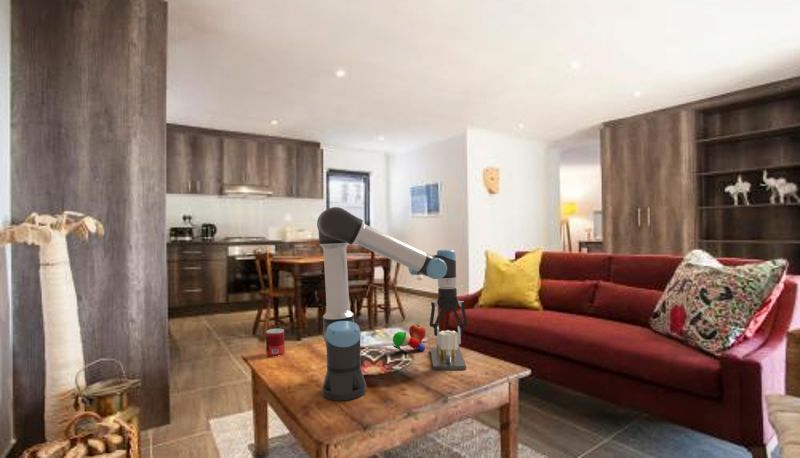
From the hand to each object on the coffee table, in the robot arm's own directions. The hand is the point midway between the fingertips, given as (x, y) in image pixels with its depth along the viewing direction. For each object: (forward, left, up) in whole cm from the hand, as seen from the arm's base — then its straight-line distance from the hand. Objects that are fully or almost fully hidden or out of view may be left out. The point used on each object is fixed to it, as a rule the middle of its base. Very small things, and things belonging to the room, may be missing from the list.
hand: (448, 343), depth 165 cm
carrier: (0, +8, -9) cm, 13 cm away
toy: (-17, +21, -10) cm, 28 cm away
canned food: (-78, +18, -10) cm, 80 cm away
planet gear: (0, 0, -2) cm, 2 cm away
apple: (-13, +37, -10) cm, 40 cm away
